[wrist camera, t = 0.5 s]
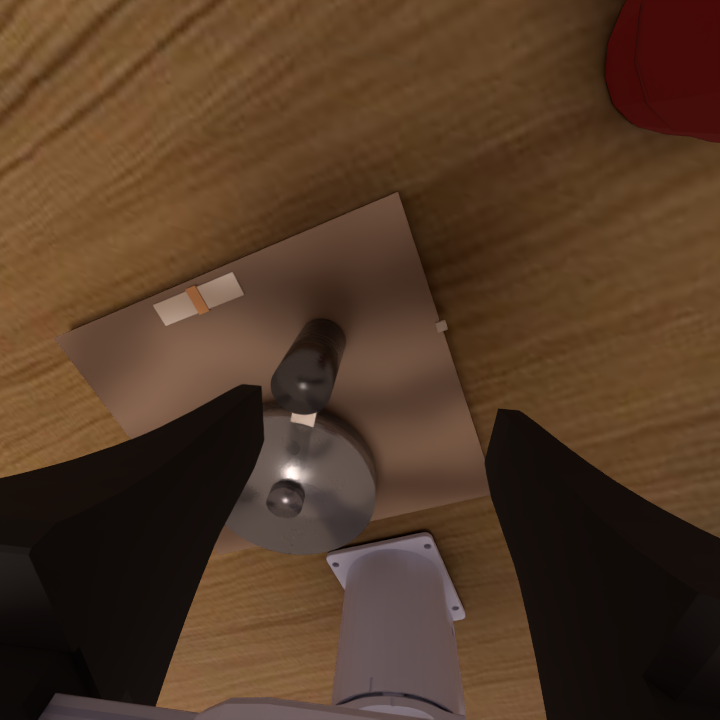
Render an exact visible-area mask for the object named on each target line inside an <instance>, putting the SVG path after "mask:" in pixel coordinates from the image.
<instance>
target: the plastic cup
mask: <svg viewBox="0 0 720 720" xmlns="http://www.w3.org/2000/svg"><path fill="white" fill-rule="evenodd" d="M605 79H606V82H607V86H608V89H609V92H610V95H611V99H612V102H613V105H614V106H615V107H616V108H617V109H618V110H619V111H620V112H621V113H622V114H623V115H624V116H625V117H626V118H627V119H628V120H629V121H630V122H631V123H632V124H635V125H636V126H637V127H641V128H644V129H648V130H652V131H655V132H659V133H663V134H668V135H679V136H690V137H695V138H698V139H702V140H706V141H709V142H717V143H720V0H626V2H625V4H624V6H623V7H622V10H621V12H620V15H619V17H618V20H617V22H616V24H615V27H614V29H613V32H612V34H611V37H610V39H609V41H608V48H607V59H606V71H605Z"/></svg>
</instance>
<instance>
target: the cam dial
mask: <svg viewBox="0 0 720 720" xmlns="http://www.w3.org/2000/svg"><path fill="white" fill-rule="evenodd" d="M345 346H346V337H345V334H344V332H343V330H342V329H341V327H340V326H339V325H338V324H336V323H335V322H333V321H331V320H329V319H324V318H318V319H314V320H311V321H309V322H308V323H306V324H305V325H304V327H303V328H302V329H301V331H300V333H299V334H298V336H297V337H296V339H295V341H294V342H293V344H292V345H291V347H290V348H289V350H288V352H287V353H286V355H285V356H284V358H283V359H282V361H281V363H280V364H279V366H278V367H277V369H276V371H275V372H274V374H273V376H272V378H271V392H272V395H273V397H274V399H275V400H276V401H277V403H269V404H263V421H264V443H263V446H262V449H261V452H260V455H259V457H258V460H257V463H256V465H255V468H254V470H253V472H252V474H251V476H250V478H249V480H248V482H247V484H246V485H245V487H244V489H243V491H242V493H241V495H240V497H239V499H238V501H237V503H236V504H235V506H234V508H233V510H232V512H231V514H230V516H229V518H228V519H227V521H226V523H225V525H226V526H227V527H228V528H229V529H230V530H231V531H233V532H234V533H235V534H237V535H238V536H240V537H241V538H243V539H245V540H246V541H249V542H251V543H253V544H255V545H257V546H260V547H262V548H265V549H268V550H272V551H275V552H280V553H286V554H295V555H309V554H318V553H324V552H328V551H331V550H335V549H337V548H339V547H342V546H344V545H346V544H347V543H349V542H351V541H352V540H354V539H355V538H356V537H357V536H359V535H360V534H361V532H362V531H363V530H364V529H365V528H366V526H367V525H368V523H369V522H370V520H371V517H372V515H373V512H374V508H375V498H376V480H377V472H376V465H375V461H374V457H373V455H372V453H371V451H370V449H369V447H368V445H367V444H366V442H365V441H364V439H363V438H362V437H361V436H360V435H359V433H358V432H357V431H356V430H355V429H353V428H352V427H351V426H350V425H349V424H347V423H346V422H345V421H343V420H342V419H341V418H339V417H337V416H335V415H333V414H332V413H330V412H327V411H325V410H323V408H324V407H325V406H326V405H327V404H328V402H329V400H330V397H331V394H332V390H333V387H334V384H335V380H336V377H337V373H338V370H339V367H340V363H341V360H342V357H343V353H344V350H345Z"/></svg>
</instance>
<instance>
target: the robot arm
mask: <svg viewBox="0 0 720 720" xmlns="http://www.w3.org/2000/svg"><path fill="white" fill-rule="evenodd" d="M263 443H264V421H263V403H262V386H259V385H249V384H241V385H239V386H237V387H235V388H233V389H231V390H229V391H227V392H225V393H223V394H222V395H220V396H218V397H216V398H214V399H213V400H211V401H209V402H207V403H205V404H204V405H202V406H200V407H198V408H196V409H195V410H193V411H191V412H189V413H187V414H185V415H183V416H181V417H179V418H177V419H175V420H173V421H171V422H169V423H167V424H165V425H163V426H161V427H159V428H157V429H155V430H152V431H150V432H148V433H145V434H143V435H141V436H138V437H136V438H133V439H131V440H128V441H126V442H123V443H121V444H118V445H115V446H112V447H109V448H106V449H103V450H100V451H97V452H94V453H91V454H88V455H85V456H82V457H79V458H76V459H73V460H70V461H66V462H63V463H59V464H56V465H52V466H49V467H45V468H41V469H37V470H33V471H29V472H25V473H21V474H17V475H12V476H8V477H4V478H0V720H466V716H465V702H464V695H463V688H462V680H461V673H460V666H459V658H458V651H457V644H456V637H455V629H454V622H453V621H456V620H462V619H464V618H465V610H464V608H463V606H462V604H461V601H460V599H459V597H458V594H457V592H456V590H455V588H454V585H453V583H452V581H451V578H450V576H449V574H448V571H447V569H446V567H445V565H444V562H443V560H442V558H441V555H440V553H439V551H438V549H437V546H436V544H435V542H434V539H433V537H432V535H431V534H429V533H427V532H422V533H418V534H413V535H408V536H403V537H398V538H394V539H389V540H384V541H379V542H374V543H369V544H365V545H360V546H355V547H350V548H345V549H341V550H336V551H331V552H329V553H328V554H327V558H326V560H327V562H328V564H329V565H330V567H331V569H332V570H333V572H334V573H335V575H336V577H337V578H338V580H339V582H340V583H341V585H342V587H343V588H344V590H345V593H344V601H343V609H342V618H341V626H340V634H339V643H338V651H337V659H336V668H335V676H334V684H333V693H332V701H331V706H330V705H323V704H315V703H308V702H300V701H293V700H286V699H278V698H271V697H250V698H230V699H228V700H226V701H223V702H221V703H219V704H216V705H214V706H212V707H210V708H207V709H206V710H204V711H203V712H201V713H196V712H189V711H182V710H175V709H168V708H160V707H155V706H156V703H157V700H158V697H159V694H160V691H161V688H162V685H163V682H164V679H165V676H166V673H167V670H168V667H169V664H170V661H171V659H172V656H173V653H174V650H175V647H176V645H177V642H178V639H179V636H180V633H181V631H182V628H183V625H184V622H185V619H186V617H187V614H188V611H189V609H190V606H191V604H192V601H193V598H194V596H195V593H196V590H197V588H198V585H199V583H200V580H201V577H202V575H203V573H204V570H205V568H206V565H207V563H208V560H209V558H210V555H211V553H212V550H213V548H214V546H215V543H216V541H217V539H218V537H219V535H220V533H221V531H222V529H223V527H224V525H225V523H226V521H227V519H228V518H229V516H230V514H231V512H232V510H233V508H234V506H235V504H236V503H237V501H238V499H239V497H240V495H241V493H242V491H243V489H244V487H245V485H246V484H247V482H248V480H249V478H250V476H251V474H252V472H253V470H254V468H255V465H256V463H257V460H258V457H259V455H260V452H261V449H262V446H263ZM484 464H485V469H486V475H487V481H488V486H489V491H490V495H491V498H492V501H493V504H494V507H495V510H496V513H497V516H498V519H499V522H500V525H501V528H502V531H503V534H504V537H505V540H506V543H507V545H508V548H509V551H510V554H511V557H512V560H513V563H514V566H515V570H516V573H517V577H518V580H519V584H520V588H521V593H522V597H523V601H524V606H525V610H526V614H527V619H528V623H529V628H530V633H531V638H532V643H533V648H534V652H535V657H536V662H537V668H538V673H539V679H540V684H541V689H542V695H543V700H544V706H545V711H546V717H547V720H720V538H718V537H716V536H714V535H712V534H710V533H708V532H705V531H703V530H701V529H699V528H697V527H695V526H693V525H692V524H690V523H688V522H686V521H684V520H682V519H680V518H678V517H676V516H674V515H672V514H671V513H669V512H667V511H665V510H663V509H661V508H659V507H658V506H656V505H654V504H652V503H651V502H649V501H647V500H645V499H644V498H642V497H640V496H639V495H637V494H636V493H634V492H632V491H631V490H629V489H627V488H626V487H624V486H622V485H621V484H619V483H618V482H616V481H614V480H613V479H611V478H610V477H608V476H607V475H605V474H604V473H603V472H601V471H600V470H598V469H597V468H595V467H594V466H592V465H591V464H590V463H588V462H587V461H585V460H584V459H583V458H581V457H580V456H579V455H577V454H576V453H575V452H573V451H572V450H571V449H569V448H568V447H567V446H565V445H564V444H563V443H561V442H560V441H559V440H558V439H556V438H555V437H554V436H552V435H551V434H550V433H549V432H547V431H546V430H545V429H544V428H542V427H541V426H540V425H538V424H537V423H536V422H535V421H533V420H532V419H531V418H529V417H528V416H527V415H525V414H524V413H522V412H521V411H519V410H508V409H498V412H497V416H496V419H495V423H494V427H493V431H492V435H491V439H490V443H489V447H488V451H487V455H486V458H485V462H484Z"/></svg>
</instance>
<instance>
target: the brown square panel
mask: <svg viewBox="0 0 720 720" xmlns="http://www.w3.org/2000/svg"><path fill="white" fill-rule="evenodd" d="M318 318H324V319H329V320H331V321H333V322H335V323H336V324H338V325H339V326H340V327H341V329H342V330H343V332H344V334H345V337H346V346H345V350H344V353H343V357H342V360H341V363H340V367H339V370H338V373H337V377H336V380H335V384H334V387H333V390H332V394H331V397H330V400H329V402H328V404H327V405H326V406H325V407H324V408H323V410H325V411H327V412H330V413H332V414H333V415H335V416H337V417H339V418H341V419H342V420H343V421H345V422H346V423H347V424H349V425H350V426H351V427H352V428H353V429H355V430H356V431H357V432H358V433H359V435H360V436H361V437H362V438H363V439H364V441H365V442H366V444H367V445H368V447H369V449H370V451H371V453H372V455H373V457H374V461H375V465H376V472H377V480H376V498H375V508H374V512H373V515H372V517H371V520H370V521H375V520H379V519H384V518H388V517H393V516H397V515H402V514H406V513H411V512H415V511H420V510H424V509H429V508H433V507H438V506H442V505H447V504H451V503H456V502H460V501H465V500H469V499H474V498H478V497H483V496H487V495H490V491H489V486H488V481H487V475H486V469H485V464H484V462H485V458H484V455H483V452H482V449H481V446H480V443H479V440H478V437H477V434H476V430H475V427H474V424H473V421H472V418H471V415H470V412H469V409H468V406H467V403H466V400H465V397H464V394H463V391H462V387H461V384H460V381H459V378H458V375H457V372H456V369H455V366H454V363H453V360H452V357H451V354H450V351H449V348H448V344H447V341H446V338H445V335H444V332H443V331H445V330H448V328H447V324H446V321H445V320H442V321H440V320H439V317H438V314H437V311H436V308H435V304H434V301H433V298H432V295H431V292H430V289H429V286H428V283H427V280H426V277H425V274H424V271H423V268H422V265H421V261H420V258H419V255H418V252H417V249H416V246H415V243H414V240H413V237H412V234H411V231H410V228H409V225H408V221H407V218H406V215H405V212H404V209H403V206H402V203H401V200H400V197H399V194H398V192H395V193H393V194H391V195H388V196H386V197H384V198H381V199H379V200H377V201H374V202H372V203H370V204H367V205H365V206H362V207H360V208H358V209H355V210H353V211H351V212H348V213H346V214H344V215H341V216H339V217H337V218H334V219H332V220H330V221H327V222H325V223H323V224H320V225H318V226H315V227H313V228H311V229H308V230H306V231H304V232H301V233H299V234H297V235H294V236H292V237H290V238H287V239H285V240H283V241H280V242H278V243H275V244H273V245H271V246H268V247H266V248H264V249H261V250H259V251H257V252H254V253H252V254H250V255H247V256H245V257H243V258H240V259H238V260H235V261H233V262H231V263H228V264H226V265H224V266H221V267H219V268H217V269H214V270H212V271H210V272H207V273H205V274H203V275H200V276H198V277H196V278H193V279H191V280H188V281H186V282H184V283H181V284H179V285H177V286H174V287H172V288H170V289H167V290H165V291H163V292H160V293H158V294H156V295H153V296H151V297H148V298H146V299H144V300H141V301H139V302H137V303H134V304H132V305H130V306H127V307H125V308H123V309H120V310H118V311H116V312H113V313H111V314H108V315H106V316H104V317H101V318H99V319H97V320H94V321H92V322H90V323H87V324H85V325H83V326H80V327H78V328H76V329H73V330H71V331H69V332H66V333H64V334H62V335H60V336H58V337H55V338H54V339H55V340H56V342H57V343H58V344H59V346H60V347H61V348H62V350H63V351H64V352H65V353H66V355H67V356H68V357H69V359H70V360H71V361H72V363H73V364H74V365H75V367H76V368H77V369H78V371H79V372H80V373H81V375H82V376H83V377H84V378H85V380H86V381H87V382H88V384H89V385H90V386H91V388H92V389H93V390H94V392H95V393H96V394H97V396H98V397H99V398H100V399H101V401H102V402H103V403H104V405H105V406H106V407H107V409H108V410H109V411H110V413H111V414H112V415H113V417H114V418H115V419H116V420H117V422H118V423H119V424H120V426H121V427H122V428H123V430H124V431H125V432H126V434H127V435H128V436H129V438H130V439H133V438H136V437H138V436H141V435H143V434H145V433H148V432H150V431H152V430H155V429H157V428H159V427H161V426H163V425H165V424H167V423H169V422H171V421H173V420H175V419H177V418H179V417H181V416H183V415H185V414H187V413H189V412H191V411H193V410H195V409H196V408H198V407H200V406H202V405H204V404H205V403H207V402H209V401H211V400H213V399H214V398H216V397H218V396H220V395H222V394H223V393H225V392H227V391H229V390H231V389H233V388H235V387H237V386H239V385H241V384H249V385H259V386H262V403H263V404H269V403H277V401H276V400H275V399H274V397H273V395H272V392H271V378H272V376H273V374H274V372H275V371H276V369H277V367H278V366H279V364H280V363H281V361H282V359H283V358H284V356H285V355H286V353H287V352H288V350H289V348H290V347H291V345H292V344H293V342H294V341H295V339H296V337H297V336H298V334H299V333H300V331H301V329H302V328H303V327H304V325H305V324H306V323H308V322H309V321H311V320H314V319H318ZM253 547H257V545H255V544H253V543H251V542H249V541H246V540H245V539H243V538H241V537H240V536H238V535H237V534H235V533H234V532H233V531H231V530H230V529H229V528H228V527H227V526H226V525H224V527H223V529H222V531H221V533H220V535H219V537H218V539H217V541H216V543H215V546H214V549H215V551H216V552H217V553H218V554H219V555H221V554H226V553H230V552H235V551H239V550H244V549H248V548H253Z"/></svg>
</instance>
